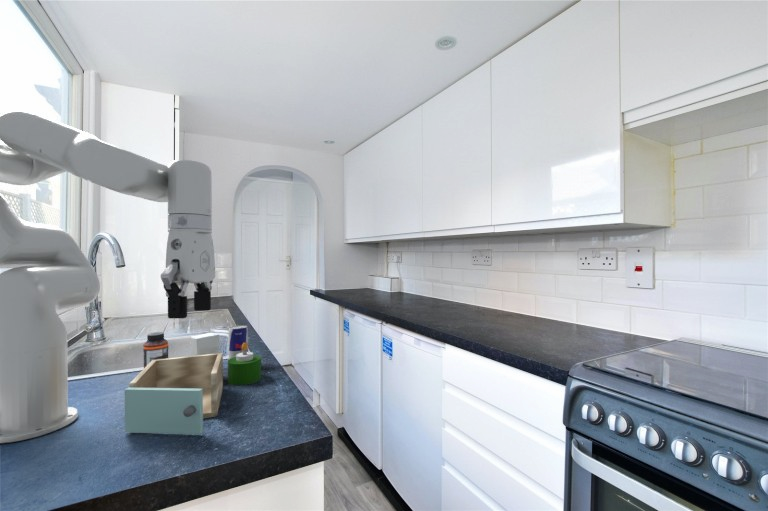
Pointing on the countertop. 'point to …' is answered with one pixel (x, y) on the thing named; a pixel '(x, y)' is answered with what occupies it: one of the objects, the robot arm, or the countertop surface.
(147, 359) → the supplement bottle
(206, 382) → the crate
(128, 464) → the countertop surface
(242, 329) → the energy drink
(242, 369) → the candle
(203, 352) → the skincare box
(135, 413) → the door
